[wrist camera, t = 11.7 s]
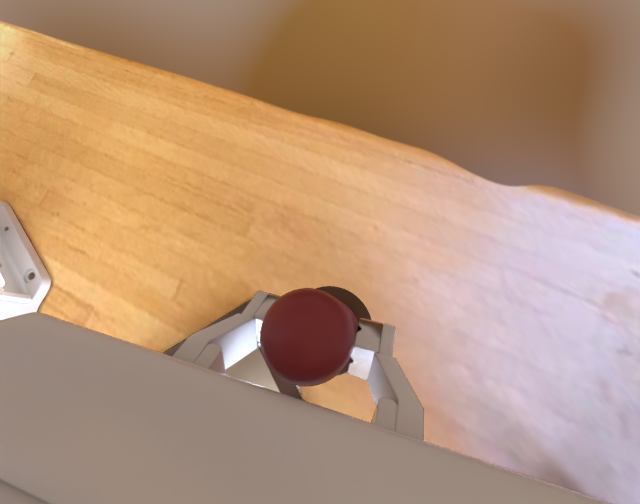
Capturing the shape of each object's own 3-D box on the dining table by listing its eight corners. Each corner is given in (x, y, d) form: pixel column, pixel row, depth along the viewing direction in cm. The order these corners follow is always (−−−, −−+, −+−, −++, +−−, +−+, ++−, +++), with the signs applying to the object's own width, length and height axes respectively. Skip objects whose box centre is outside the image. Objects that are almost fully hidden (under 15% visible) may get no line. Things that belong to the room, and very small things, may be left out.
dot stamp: (284, 314, 19) (198, 309, 9) (346, 276, 19) (324, 232, 9) (320, 383, 18) (264, 457, 8) (387, 343, 18) (410, 371, 8)
